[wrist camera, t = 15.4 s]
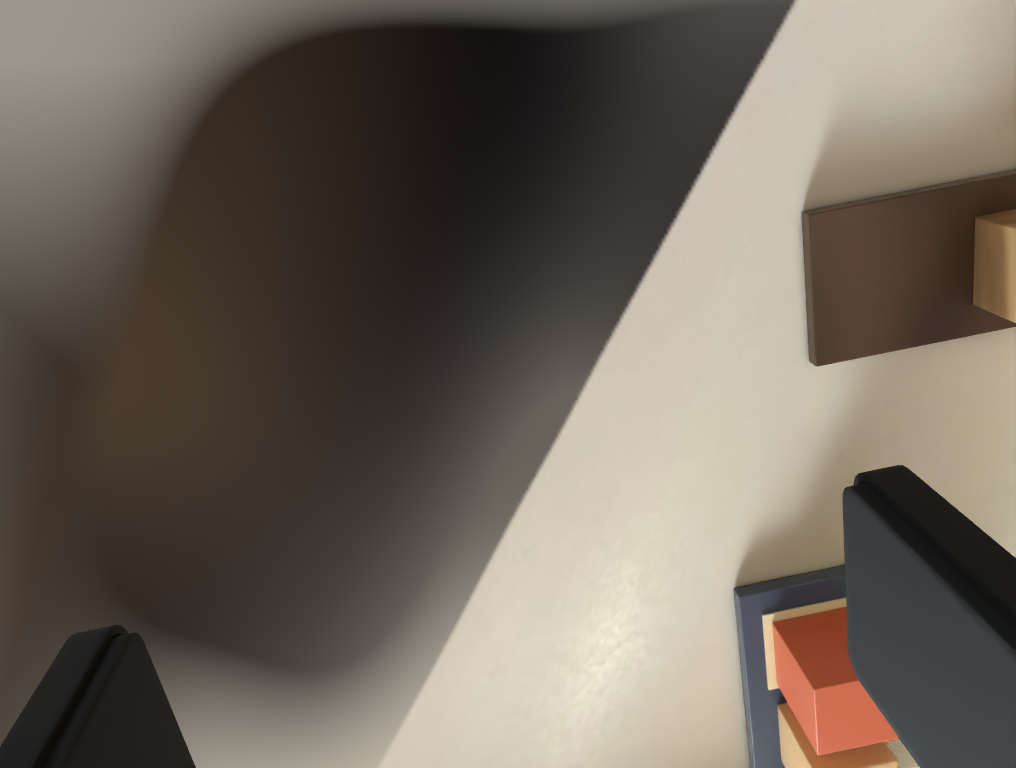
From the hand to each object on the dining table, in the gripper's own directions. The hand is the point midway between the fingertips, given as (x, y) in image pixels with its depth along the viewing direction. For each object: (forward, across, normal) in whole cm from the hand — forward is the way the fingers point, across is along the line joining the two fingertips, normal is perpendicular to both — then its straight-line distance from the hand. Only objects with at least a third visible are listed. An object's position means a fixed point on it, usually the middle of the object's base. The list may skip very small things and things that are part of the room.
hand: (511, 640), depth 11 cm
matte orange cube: (+25, -14, +24) cm, 38 cm away
